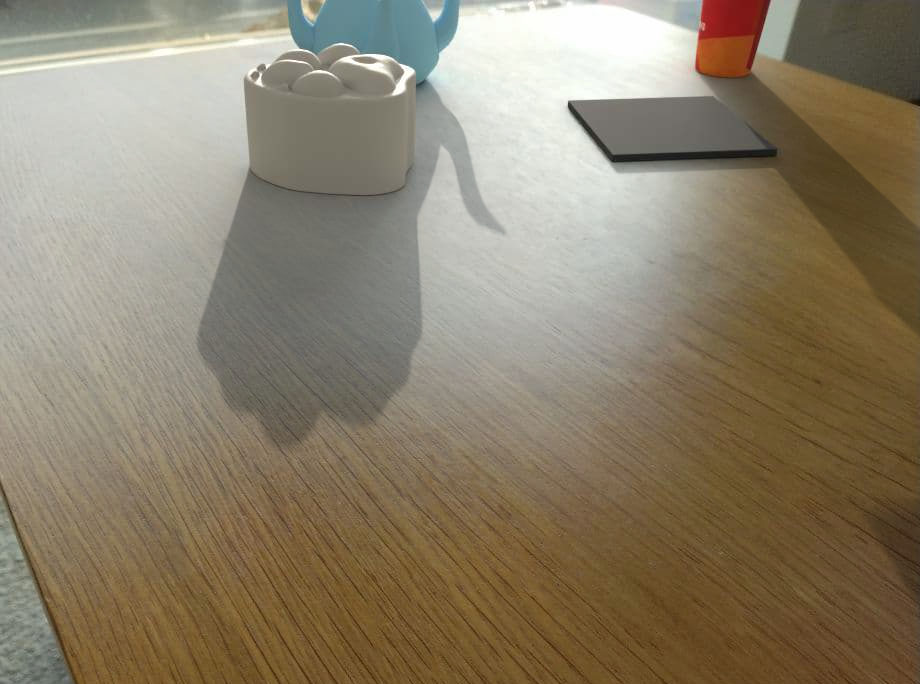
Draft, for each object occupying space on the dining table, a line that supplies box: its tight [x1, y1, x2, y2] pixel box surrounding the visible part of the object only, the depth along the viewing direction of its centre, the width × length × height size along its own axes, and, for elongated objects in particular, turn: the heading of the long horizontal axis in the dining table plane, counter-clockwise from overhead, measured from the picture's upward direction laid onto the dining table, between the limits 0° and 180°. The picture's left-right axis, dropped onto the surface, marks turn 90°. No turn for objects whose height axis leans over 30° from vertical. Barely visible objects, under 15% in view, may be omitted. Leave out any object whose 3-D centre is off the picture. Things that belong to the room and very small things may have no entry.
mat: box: [567, 95, 779, 163], centre depth 86 cm, size 14×14×1 cm
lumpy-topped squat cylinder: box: [243, 44, 417, 196], centre depth 76 cm, size 10×13×9 cm
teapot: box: [286, 0, 461, 86], centre depth 96 cm, size 15×15×10 cm
